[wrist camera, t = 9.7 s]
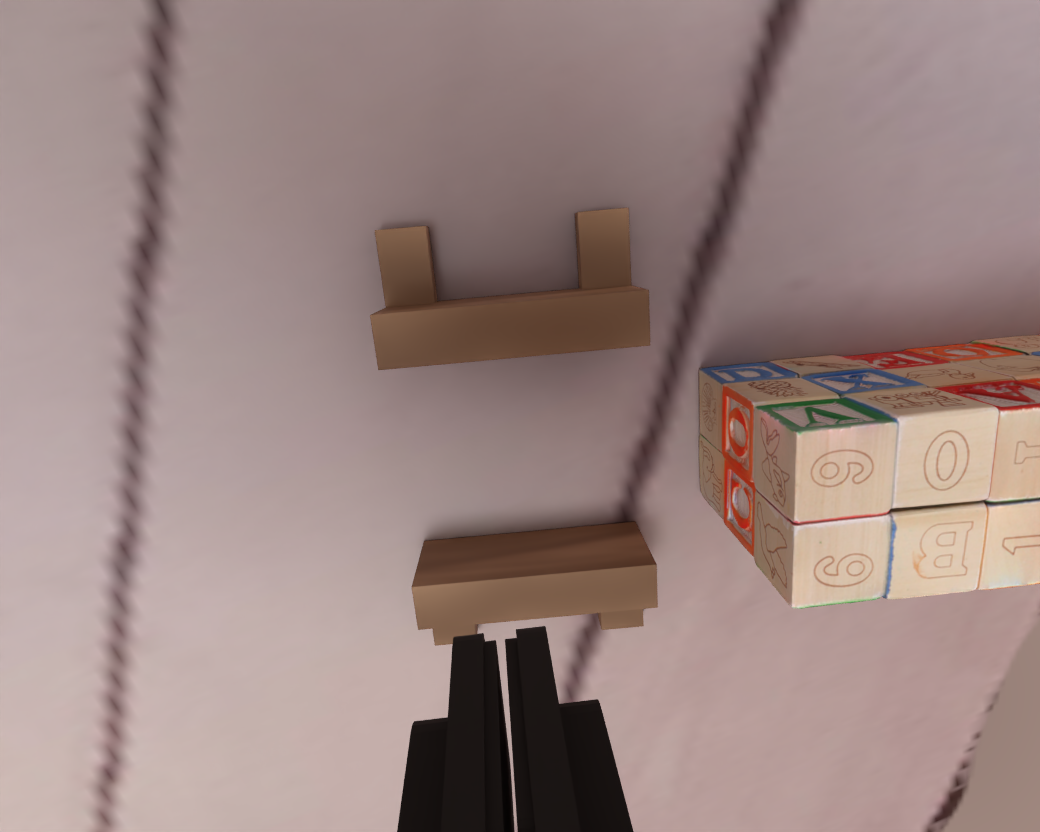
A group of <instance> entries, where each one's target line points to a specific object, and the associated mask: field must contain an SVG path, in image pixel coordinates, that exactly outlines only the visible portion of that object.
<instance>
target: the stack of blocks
mask: <svg viewBox="0 0 1040 832" xmlns="http://www.w3.org/2000/svg"><path fill="white" fill-rule="evenodd" d="M699 397H700V436H699V465H700V486H701V493H702V495H703V497H704V498H705V499H706V501H707V502H708V503H709V504H710V505H711V507H712V508H713V509H714V510H715V511H716V512H717V513H718V514H719V516H720V517H721V518H722V519H723V520H724V523H725V525H726V526H727V527H728V528H729V529H730V531H731V532H732V533H733V534H734V535H735V536H736V538H737V539H738V540H739V541H740V542H741V544H742V545H743V546H744V547H745V548H746V549H747V550H748V551H749V552H750V554H751V555H752V556H753V557H754V559H755V563H756V565H757V566H758V567H759V569H760V570H761V571H762V572H763V573H764V575H765V576H766V577H767V578H768V580H769V581H770V582H771V583H772V585H773V586H774V587H775V588H776V589H777V591H778V592H779V593H780V594H781V596H782V597H783V598H784V599H785V601H786V602H787V603H788V604H789V605H790V606H791V607H792V608H800V609H802V608H808V607H816V606H825V605H833V604H841V603H853V602H860V601H866V600H876V599H878V598H880V597H883V598H885V599H901V598H911V597H921V596H931V595H939V594H948V593H958V592H967V591H972V590H974V589H980V590H992V589H1000V588H1009V587H1018V586H1025V585H1032V584H1040V335H1029V336H1015V337H1004V338H994V339H984V340H975V341H972V342H970V343H969V344H956V345H947V346H936V347H926V348H915V349H906V350H904V351H902V352H886V353H875V354H865V355H854V356H843V357H840V356H836V355H828V356H816V357H805V358H794V359H783V360H774V361H769V362H764V363H749V364H738V365H729V366H719V367H708V368H702V369H700V370H699Z"/></svg>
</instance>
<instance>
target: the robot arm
mask: <svg viewBox="0 0 1040 832" xmlns="http://www.w3.org/2000/svg"><path fill="white" fill-rule="evenodd" d="M516 634H517V638H512V639H505V645H506V661H507V676H508V691H509V706H510V721H511V736H512V751H513V766H514V781H515V797H516V812H517V826H518V832H633V828H632V824H631V821H630V817H629V813H628V809H627V805H626V801H625V798H624V794H623V790H622V786H621V782H620V778H619V774H618V771H617V767H616V763H615V759H614V755H613V751H612V748H611V744H610V740H609V736H608V732H607V728H606V725H605V721H604V717H603V713H602V709H601V706H600V703H599V701H598V699H597V700H588V701H580V702H572V703H564V704H559V702H558V696H557V690H556V684H555V679H554V673H553V667H552V661H551V655H550V650H549V644H548V638H547V632H546V627H545V626H542V627H533V628H525V629H516ZM397 832H514V816H513V800H512V783H511V769H510V758H509V749H508V741H507V732H506V723H505V715H504V706H503V697H502V689H501V680H500V671H499V663H498V654H497V645H496V640H494V641H486V642H485V639H484V634H483V633H482V634H473V635H464V636H456V637H454V638H453V646H452V662H451V678H450V694H449V710H448V718H439V719H431V720H423V721H415V722H414V723H413V725H412V729H411V735H410V742H409V750H408V757H407V764H406V772H405V779H404V786H403V794H402V801H401V808H400V816H399V823H398V830H397Z"/></svg>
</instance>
